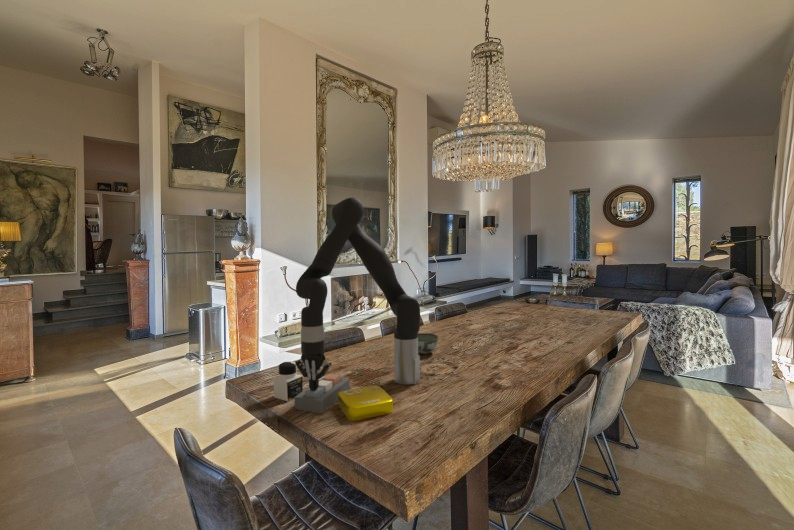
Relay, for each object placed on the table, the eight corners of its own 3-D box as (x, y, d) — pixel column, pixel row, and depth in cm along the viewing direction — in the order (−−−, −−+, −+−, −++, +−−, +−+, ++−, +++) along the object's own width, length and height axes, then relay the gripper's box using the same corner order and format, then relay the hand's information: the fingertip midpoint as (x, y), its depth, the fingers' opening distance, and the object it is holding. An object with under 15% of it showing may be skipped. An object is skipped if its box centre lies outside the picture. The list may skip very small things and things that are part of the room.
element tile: (350, 423, 117) (349, 407, 116) (336, 404, 130) (336, 390, 130) (395, 413, 123) (395, 398, 123) (378, 396, 137) (377, 383, 136)
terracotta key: (340, 384, 141) (340, 375, 140) (334, 389, 136) (334, 379, 136) (329, 383, 142) (329, 373, 142) (323, 387, 138) (323, 377, 138)
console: (349, 389, 141) (349, 379, 141) (321, 413, 123) (321, 400, 122) (325, 386, 145) (325, 376, 145) (294, 408, 126) (294, 397, 126)
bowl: (443, 351, 189) (443, 335, 188) (430, 358, 178) (430, 341, 177) (418, 347, 196) (418, 331, 196) (405, 354, 185) (404, 337, 184)
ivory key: (332, 391, 135) (332, 381, 135) (326, 396, 131) (325, 386, 131) (321, 389, 136) (321, 380, 136) (314, 394, 132) (314, 384, 132)
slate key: (323, 398, 129) (323, 388, 129) (316, 403, 125) (316, 393, 125) (312, 396, 131) (312, 386, 131) (305, 402, 127) (304, 391, 126)
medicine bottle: (287, 402, 132) (286, 367, 131) (273, 397, 135) (272, 364, 134) (303, 394, 138) (302, 361, 137) (289, 390, 141) (288, 358, 141)
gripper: (336, 337, 128) (337, 388, 129) (301, 334, 132) (303, 383, 133) (324, 342, 121) (325, 396, 122) (288, 339, 125) (290, 391, 126)
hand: (313, 389), depth 128 cm, fingers closed
